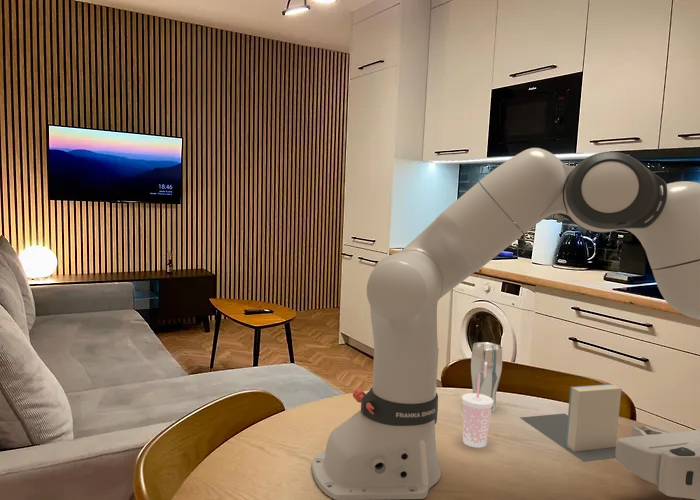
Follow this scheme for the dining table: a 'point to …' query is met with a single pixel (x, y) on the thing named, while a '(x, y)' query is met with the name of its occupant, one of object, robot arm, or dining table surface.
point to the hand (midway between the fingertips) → (638, 430)
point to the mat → (557, 431)
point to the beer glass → (486, 369)
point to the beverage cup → (476, 417)
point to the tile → (593, 417)
